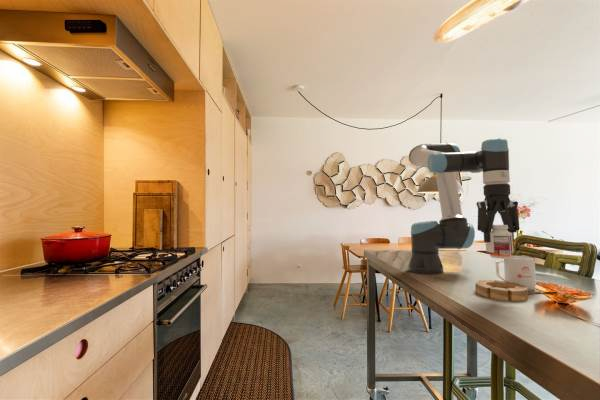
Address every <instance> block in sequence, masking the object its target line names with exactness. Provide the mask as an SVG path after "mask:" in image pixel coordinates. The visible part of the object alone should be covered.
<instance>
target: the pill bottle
mask: <svg viewBox="0 0 600 400" xmlns="http://www.w3.org/2000/svg"><path fill="white" fill-rule="evenodd" d="M507 229H508V225H504V224H493V226H492V230H491V232H490V233H493V234H494V253H492V252H489V256H490V257H491V258H495V259H501V260H504V259H510V258H512V256H513V252H512V241H511V233H510V232H509V231H507Z"/></svg>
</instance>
